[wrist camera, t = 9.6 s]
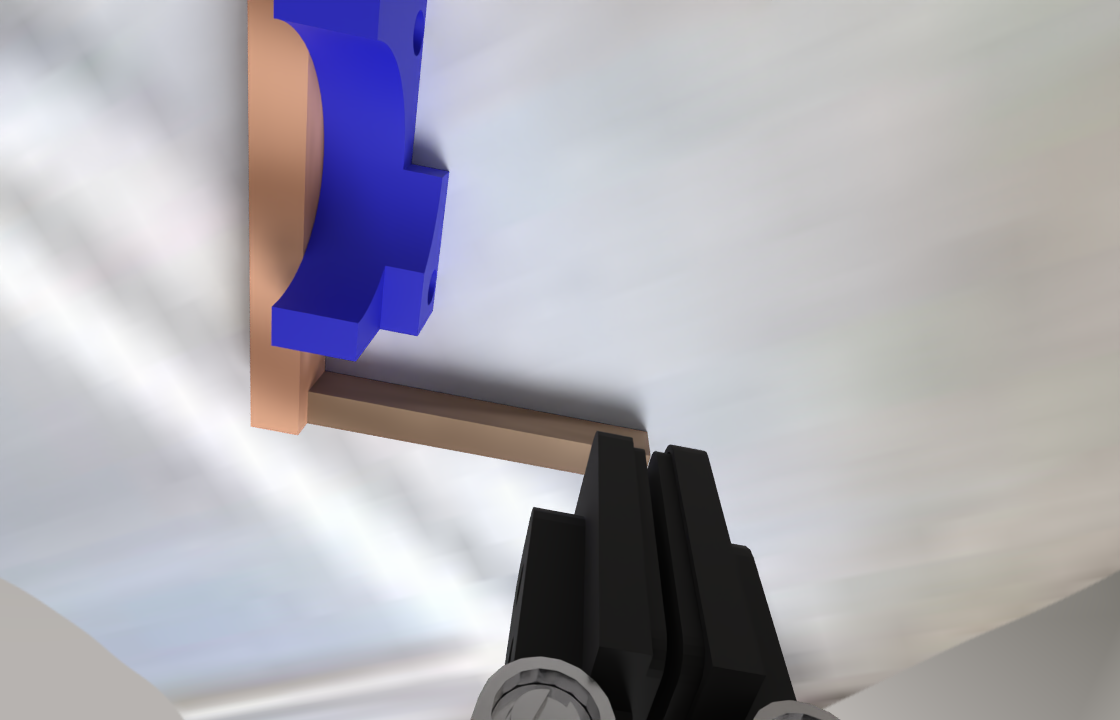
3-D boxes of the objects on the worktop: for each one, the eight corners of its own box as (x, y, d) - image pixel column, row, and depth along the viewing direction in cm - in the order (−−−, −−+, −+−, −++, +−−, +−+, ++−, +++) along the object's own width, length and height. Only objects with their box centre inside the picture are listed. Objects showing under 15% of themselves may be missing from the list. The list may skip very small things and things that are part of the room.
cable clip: (433, 308, 30) (397, 369, 24) (330, 288, 29) (271, 345, 24) (469, 3, 24) (434, -7, 19) (345, -24, 24) (273, -42, 19)
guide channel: (288, -163, 22) (245, -191, 20) (787, -53, 23) (813, -65, 20) (280, 393, 31) (250, 426, 29) (639, 460, 32) (643, 499, 29)
